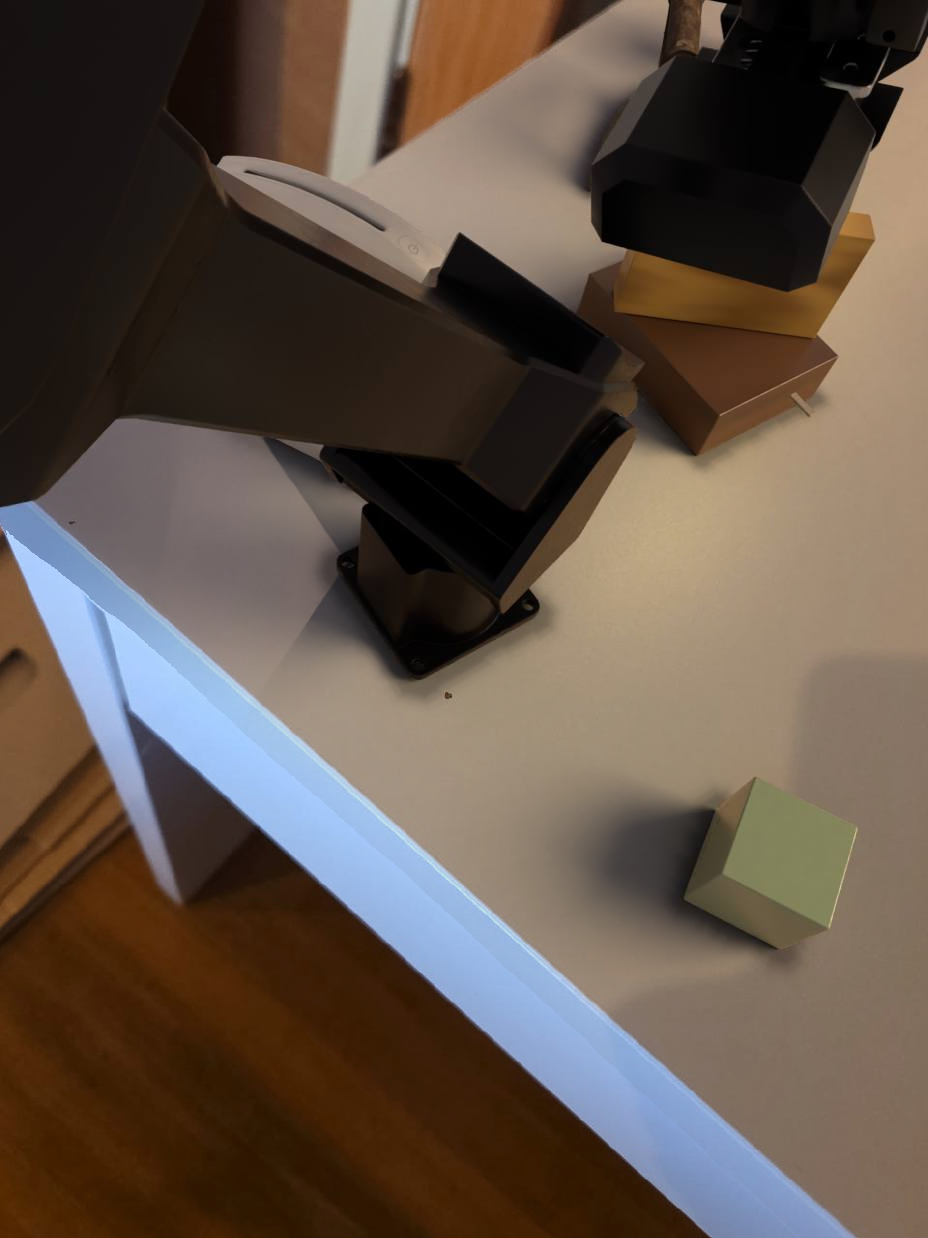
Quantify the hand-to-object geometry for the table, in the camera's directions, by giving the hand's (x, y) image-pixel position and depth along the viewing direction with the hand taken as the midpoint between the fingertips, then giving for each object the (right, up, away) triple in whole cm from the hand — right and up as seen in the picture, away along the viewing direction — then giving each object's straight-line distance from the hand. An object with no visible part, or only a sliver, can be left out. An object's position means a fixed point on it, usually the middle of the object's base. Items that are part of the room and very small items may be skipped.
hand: (770, 232), depth 35 cm
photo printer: (-18, -5, +10) cm, 21 cm away
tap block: (+1, 0, +15) cm, 15 cm away
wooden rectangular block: (+1, +1, +12) cm, 13 cm away
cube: (0, -24, +2) cm, 24 cm away
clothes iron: (0, +14, +23) cm, 27 cm away
